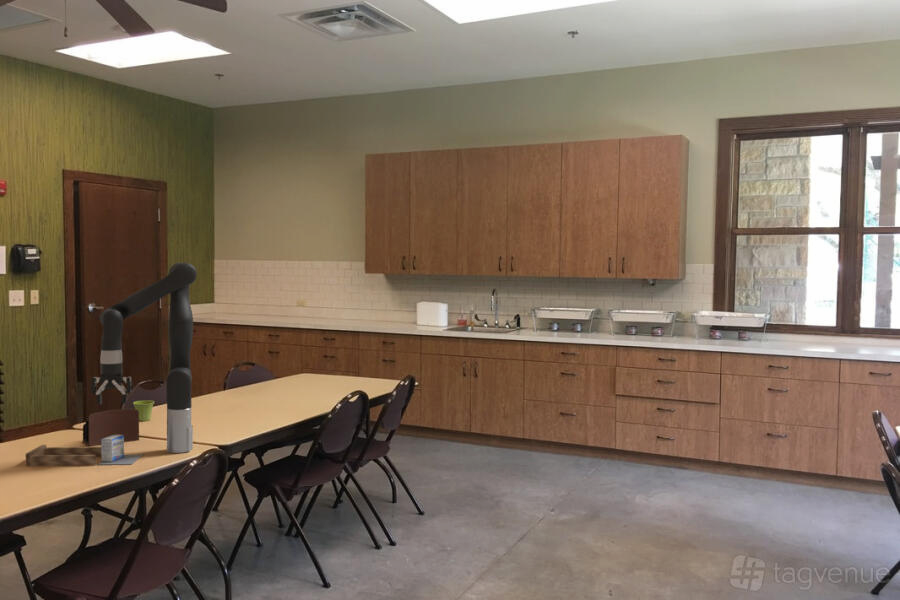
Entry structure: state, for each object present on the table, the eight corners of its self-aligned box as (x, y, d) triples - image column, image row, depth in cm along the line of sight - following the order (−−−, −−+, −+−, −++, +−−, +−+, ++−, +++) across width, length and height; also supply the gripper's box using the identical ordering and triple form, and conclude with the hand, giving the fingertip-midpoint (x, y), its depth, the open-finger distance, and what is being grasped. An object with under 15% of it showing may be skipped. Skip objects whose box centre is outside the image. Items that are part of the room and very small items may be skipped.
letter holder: (139, 440, 312) (139, 407, 311) (88, 447, 299) (88, 412, 299) (132, 436, 319) (132, 404, 319) (82, 442, 307) (82, 408, 306)
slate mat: (142, 455, 287) (142, 454, 287) (131, 464, 273) (131, 463, 273) (110, 455, 286) (110, 454, 286) (97, 465, 272) (97, 464, 272)
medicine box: (111, 462, 275) (111, 439, 275) (100, 461, 276) (100, 438, 275) (124, 457, 283) (124, 434, 282) (113, 456, 283) (113, 434, 283)
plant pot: (150, 417, 359) (150, 399, 359) (157, 420, 352) (157, 402, 351) (130, 419, 353) (130, 401, 353) (136, 423, 346) (136, 404, 345)
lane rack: (107, 455, 286) (107, 444, 285) (94, 465, 272) (94, 453, 271) (42, 456, 283) (42, 444, 283) (25, 465, 269) (25, 453, 269)
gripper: (134, 360, 283) (134, 402, 284) (95, 360, 282) (95, 402, 282) (128, 362, 276) (128, 405, 277) (88, 363, 274) (88, 406, 275)
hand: (111, 404), depth 280 cm, fingers open, 8 cm apart
